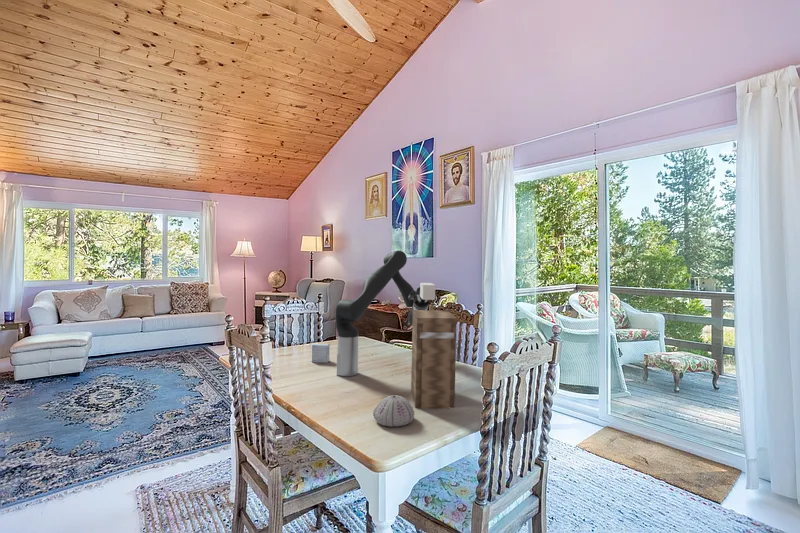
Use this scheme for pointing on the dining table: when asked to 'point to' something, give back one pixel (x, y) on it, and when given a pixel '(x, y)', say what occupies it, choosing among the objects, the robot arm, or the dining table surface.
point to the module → (427, 291)
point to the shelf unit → (433, 359)
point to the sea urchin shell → (393, 411)
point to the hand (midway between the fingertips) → (424, 289)
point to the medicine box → (320, 353)
